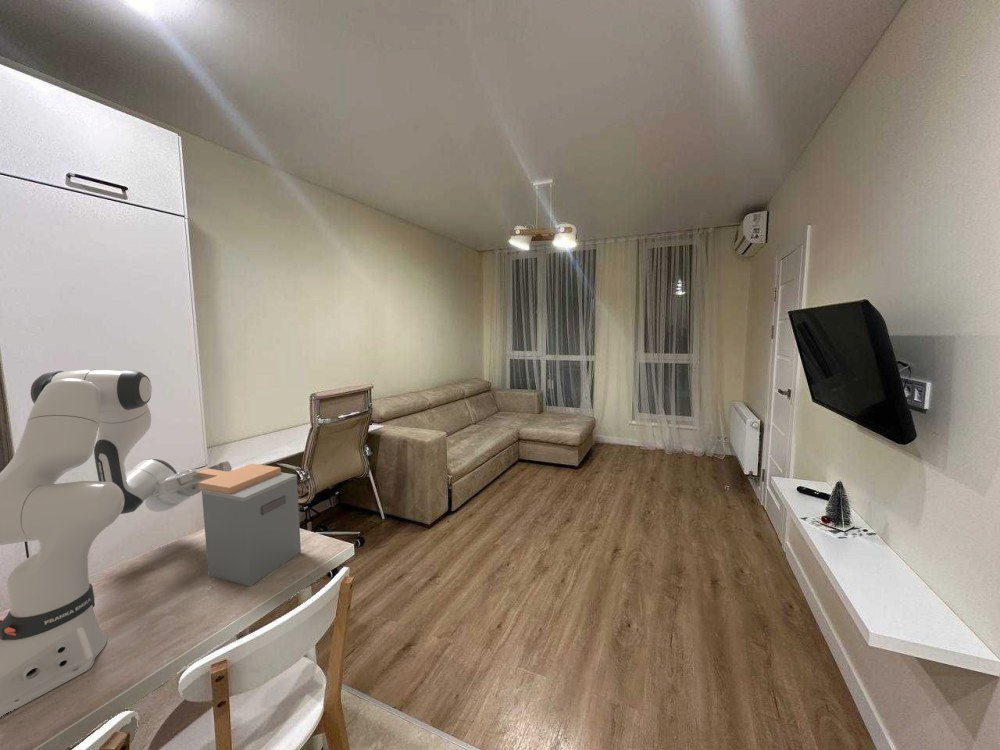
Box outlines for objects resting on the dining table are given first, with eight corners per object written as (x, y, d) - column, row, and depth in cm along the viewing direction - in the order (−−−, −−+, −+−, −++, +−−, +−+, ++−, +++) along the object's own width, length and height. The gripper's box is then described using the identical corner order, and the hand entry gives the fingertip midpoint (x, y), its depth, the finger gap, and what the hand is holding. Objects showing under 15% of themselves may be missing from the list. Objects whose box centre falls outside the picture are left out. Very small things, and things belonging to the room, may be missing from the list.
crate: (251, 586, 108) (245, 497, 105) (208, 575, 113) (201, 490, 110) (301, 552, 125) (297, 474, 122) (262, 543, 130) (258, 469, 127)
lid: (229, 494, 107) (229, 487, 107) (171, 483, 114) (171, 477, 114) (280, 473, 124) (280, 467, 123) (227, 465, 130) (227, 460, 130)
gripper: (143, 488, 116) (168, 471, 111) (212, 466, 135) (236, 450, 131) (152, 507, 115) (178, 490, 111) (219, 482, 135) (244, 467, 130)
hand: (210, 468), depth 121 cm, fingers open, 8 cm apart
